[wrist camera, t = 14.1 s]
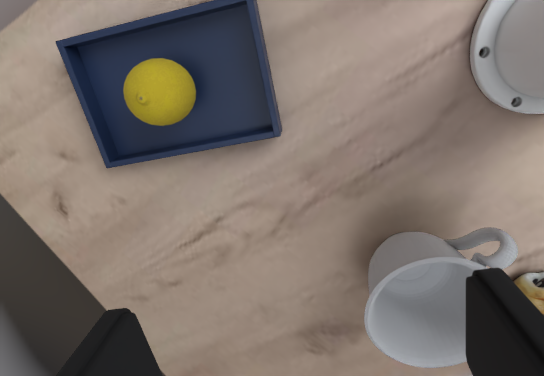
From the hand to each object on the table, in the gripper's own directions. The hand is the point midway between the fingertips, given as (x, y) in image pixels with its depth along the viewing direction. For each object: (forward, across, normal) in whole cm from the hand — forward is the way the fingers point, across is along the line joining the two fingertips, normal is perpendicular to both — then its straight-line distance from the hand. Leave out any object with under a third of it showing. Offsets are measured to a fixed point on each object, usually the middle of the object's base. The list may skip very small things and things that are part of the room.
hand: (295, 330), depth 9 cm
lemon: (+26, +11, -6) cm, 29 cm away
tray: (+26, +11, -6) cm, 29 cm away
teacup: (+26, -10, +15) cm, 32 cm away
